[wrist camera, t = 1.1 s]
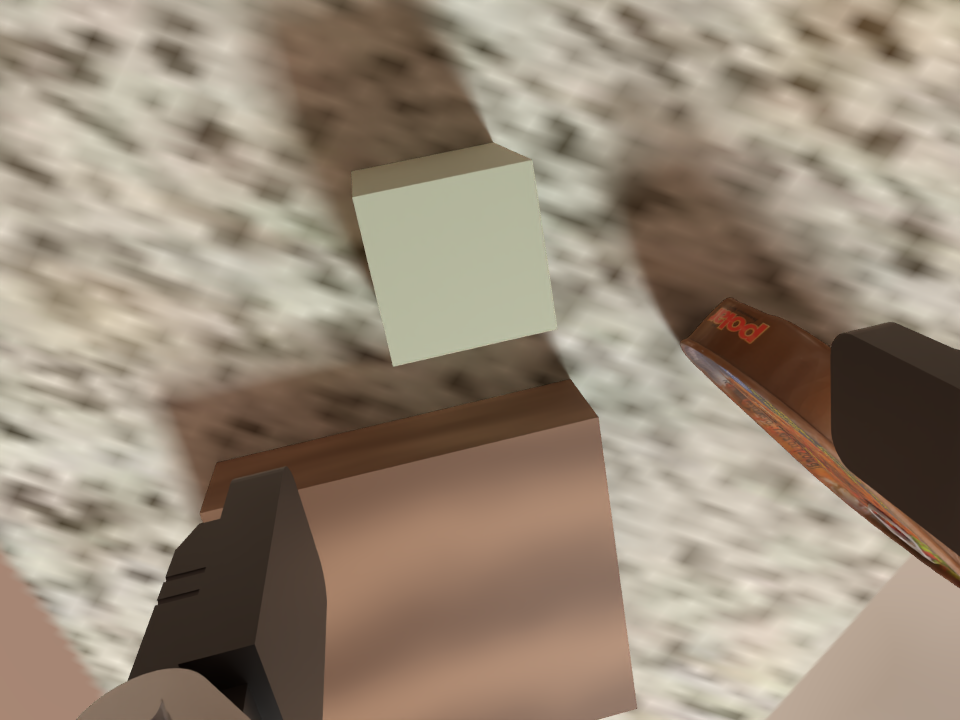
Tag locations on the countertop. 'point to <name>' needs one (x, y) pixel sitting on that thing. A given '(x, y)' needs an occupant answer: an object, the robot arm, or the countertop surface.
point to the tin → (798, 410)
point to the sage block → (455, 250)
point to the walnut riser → (464, 562)
